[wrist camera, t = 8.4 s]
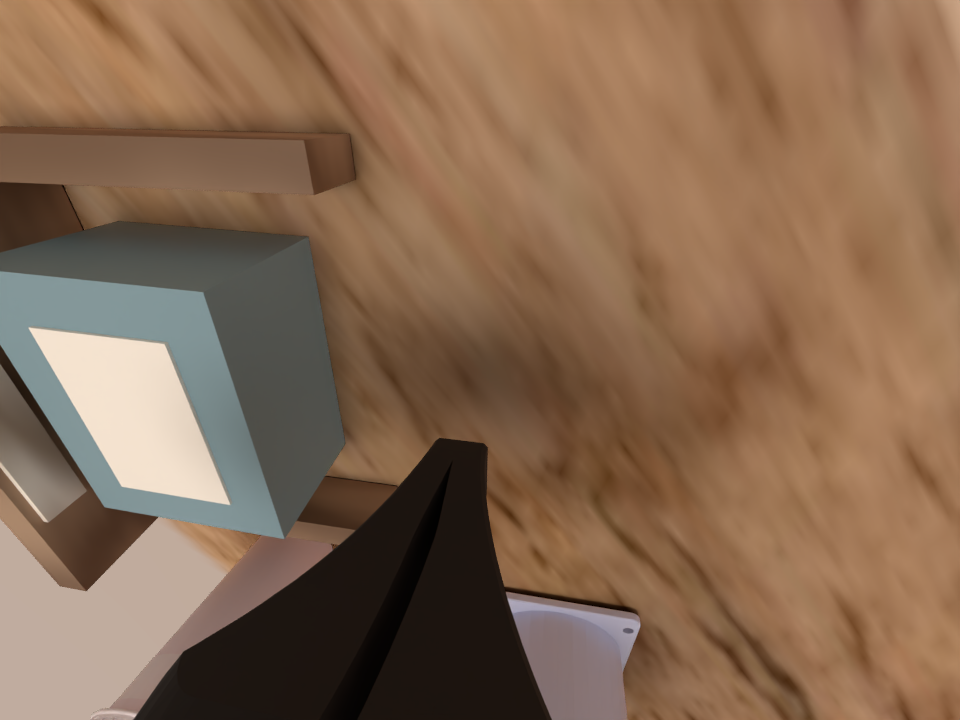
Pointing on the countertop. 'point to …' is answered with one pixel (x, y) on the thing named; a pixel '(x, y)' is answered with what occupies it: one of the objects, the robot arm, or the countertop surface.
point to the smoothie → (223, 609)
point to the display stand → (48, 214)
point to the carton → (179, 368)
